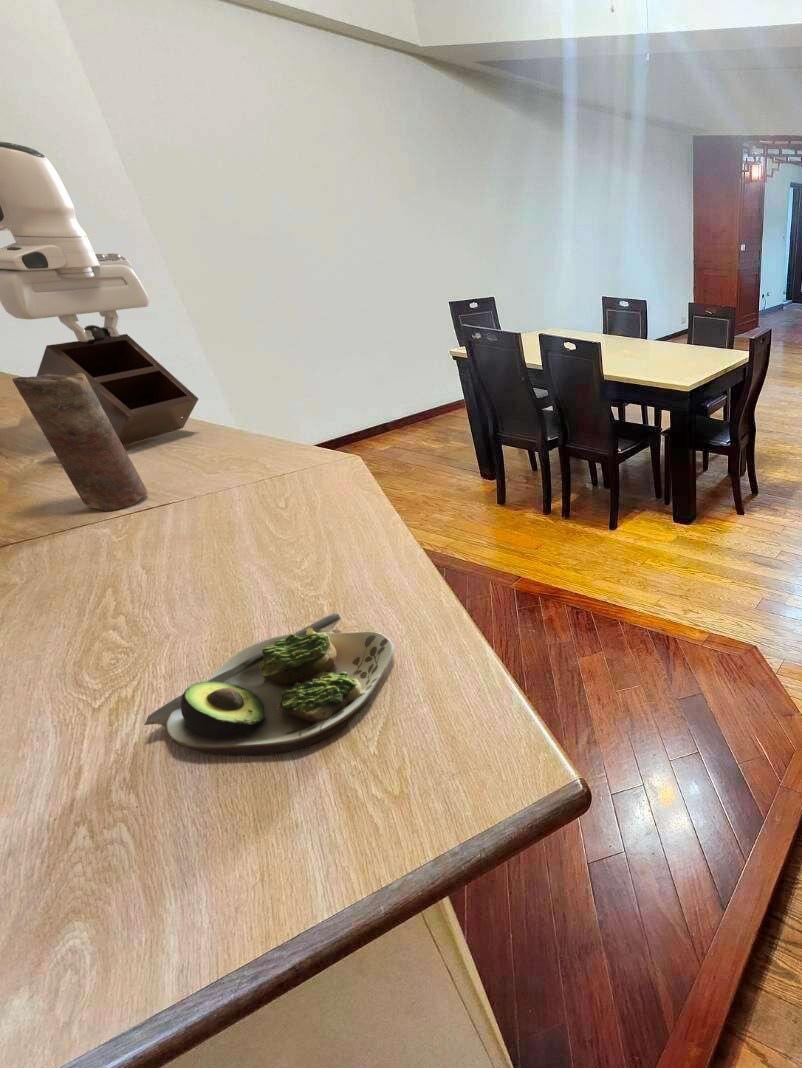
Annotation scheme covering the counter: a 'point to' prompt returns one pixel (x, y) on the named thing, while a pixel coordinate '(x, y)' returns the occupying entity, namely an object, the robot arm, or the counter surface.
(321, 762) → the counter surface
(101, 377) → the shelf
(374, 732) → the counter surface
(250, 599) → the counter surface
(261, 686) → the salad plate
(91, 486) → the brown textured cylinder
